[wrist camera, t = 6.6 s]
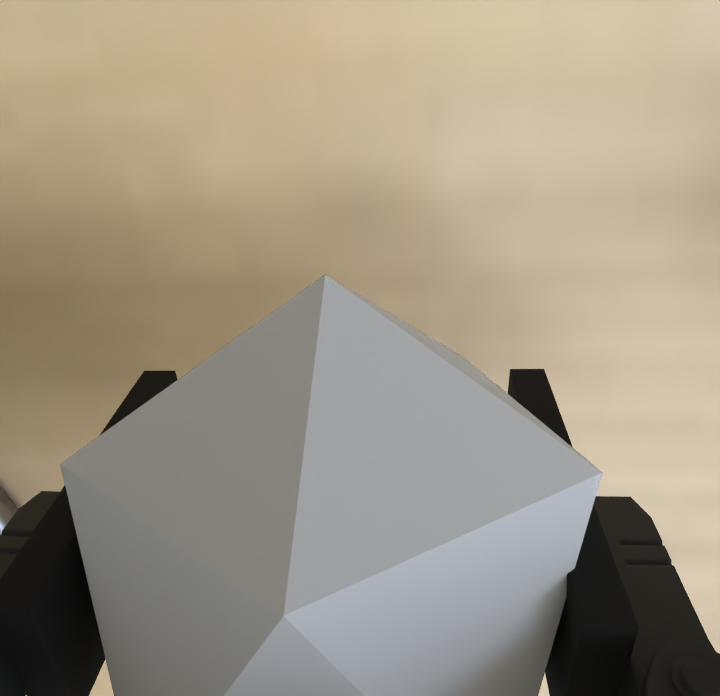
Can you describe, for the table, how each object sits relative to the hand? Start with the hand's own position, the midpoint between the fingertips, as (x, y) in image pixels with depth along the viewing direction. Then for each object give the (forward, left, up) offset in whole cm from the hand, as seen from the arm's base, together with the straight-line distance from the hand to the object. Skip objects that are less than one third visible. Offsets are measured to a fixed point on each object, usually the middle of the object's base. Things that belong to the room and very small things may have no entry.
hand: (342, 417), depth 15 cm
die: (0, 0, -1) cm, 1 cm away
